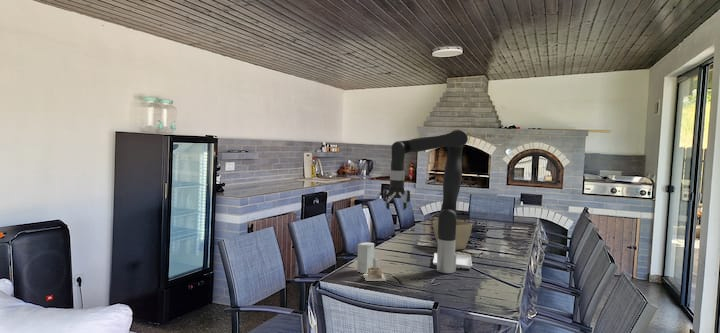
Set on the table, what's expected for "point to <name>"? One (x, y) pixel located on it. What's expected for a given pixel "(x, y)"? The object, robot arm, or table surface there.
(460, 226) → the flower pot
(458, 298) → the table surface
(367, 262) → the skincare box
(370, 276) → the ring
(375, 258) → the post
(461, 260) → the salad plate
